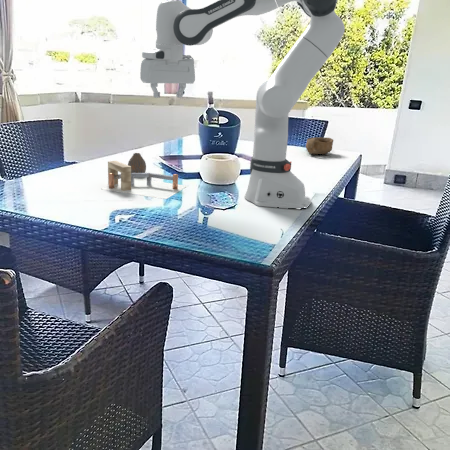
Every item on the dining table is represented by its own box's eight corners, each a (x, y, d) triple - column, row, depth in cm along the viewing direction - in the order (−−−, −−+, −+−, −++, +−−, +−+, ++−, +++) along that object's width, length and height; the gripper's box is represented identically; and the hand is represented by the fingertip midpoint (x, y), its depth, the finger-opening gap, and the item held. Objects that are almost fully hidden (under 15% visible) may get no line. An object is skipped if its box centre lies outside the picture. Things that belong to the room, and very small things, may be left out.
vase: (142, 179, 184) (142, 156, 181) (124, 177, 185) (124, 154, 182) (148, 175, 190) (148, 152, 187) (131, 173, 191) (131, 150, 188)
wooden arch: (115, 182, 173) (115, 160, 171) (131, 189, 166) (130, 166, 164) (108, 184, 171) (107, 161, 169) (123, 190, 164) (123, 167, 162)
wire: (176, 184, 176) (176, 171, 174) (177, 189, 170) (178, 175, 168) (109, 183, 172) (109, 169, 170) (108, 188, 166) (108, 174, 164)
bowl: (330, 156, 240) (327, 136, 238) (302, 160, 246) (299, 141, 244) (337, 150, 256) (334, 131, 254) (311, 154, 262) (308, 136, 260)
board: (188, 187, 176) (188, 185, 175) (166, 201, 158) (166, 199, 158) (128, 179, 182) (128, 177, 182) (100, 191, 165) (100, 189, 165)
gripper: (188, 55, 170) (186, 96, 174) (137, 52, 157) (137, 96, 161) (199, 55, 166) (198, 97, 170) (148, 53, 152) (148, 98, 157)
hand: (168, 97), depth 166 cm, fingers open, 8 cm apart
